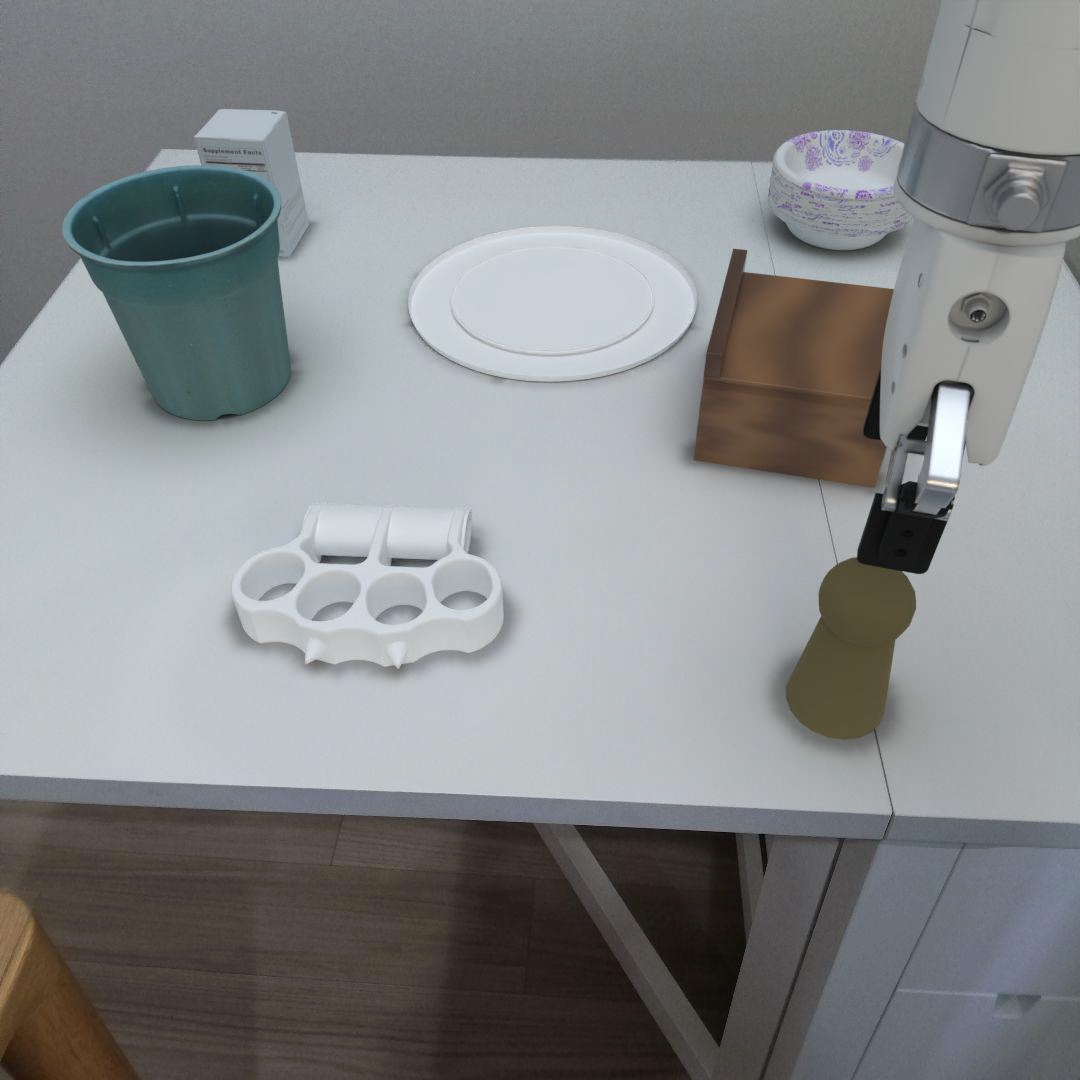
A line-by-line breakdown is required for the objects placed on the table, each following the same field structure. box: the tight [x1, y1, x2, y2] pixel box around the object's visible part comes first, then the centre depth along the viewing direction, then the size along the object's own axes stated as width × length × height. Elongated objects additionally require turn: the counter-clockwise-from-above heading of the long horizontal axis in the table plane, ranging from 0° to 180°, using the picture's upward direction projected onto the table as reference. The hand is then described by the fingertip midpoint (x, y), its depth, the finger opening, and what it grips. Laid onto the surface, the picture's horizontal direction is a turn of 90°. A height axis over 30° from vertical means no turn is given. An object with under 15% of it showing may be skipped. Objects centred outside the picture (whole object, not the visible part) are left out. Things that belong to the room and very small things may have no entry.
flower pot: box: [61, 164, 292, 421], centre depth 81 cm, size 16×16×16 cm
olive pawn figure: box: [785, 556, 917, 741], centre depth 57 cm, size 6×6×11 cm
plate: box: [407, 225, 698, 383], centre depth 95 cm, size 28×28×1 cm
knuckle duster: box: [230, 500, 505, 670], centre depth 67 cm, size 3×18×15 cm
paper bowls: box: [767, 129, 914, 251], centre depth 102 cm, size 15×15×8 cm
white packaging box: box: [193, 108, 310, 258], centre depth 101 cm, size 7×7×13 cm
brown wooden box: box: [693, 248, 894, 489], centre depth 78 cm, size 14×16×10 cm
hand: (891, 497), depth 49 cm, fingers open, 9 cm apart
